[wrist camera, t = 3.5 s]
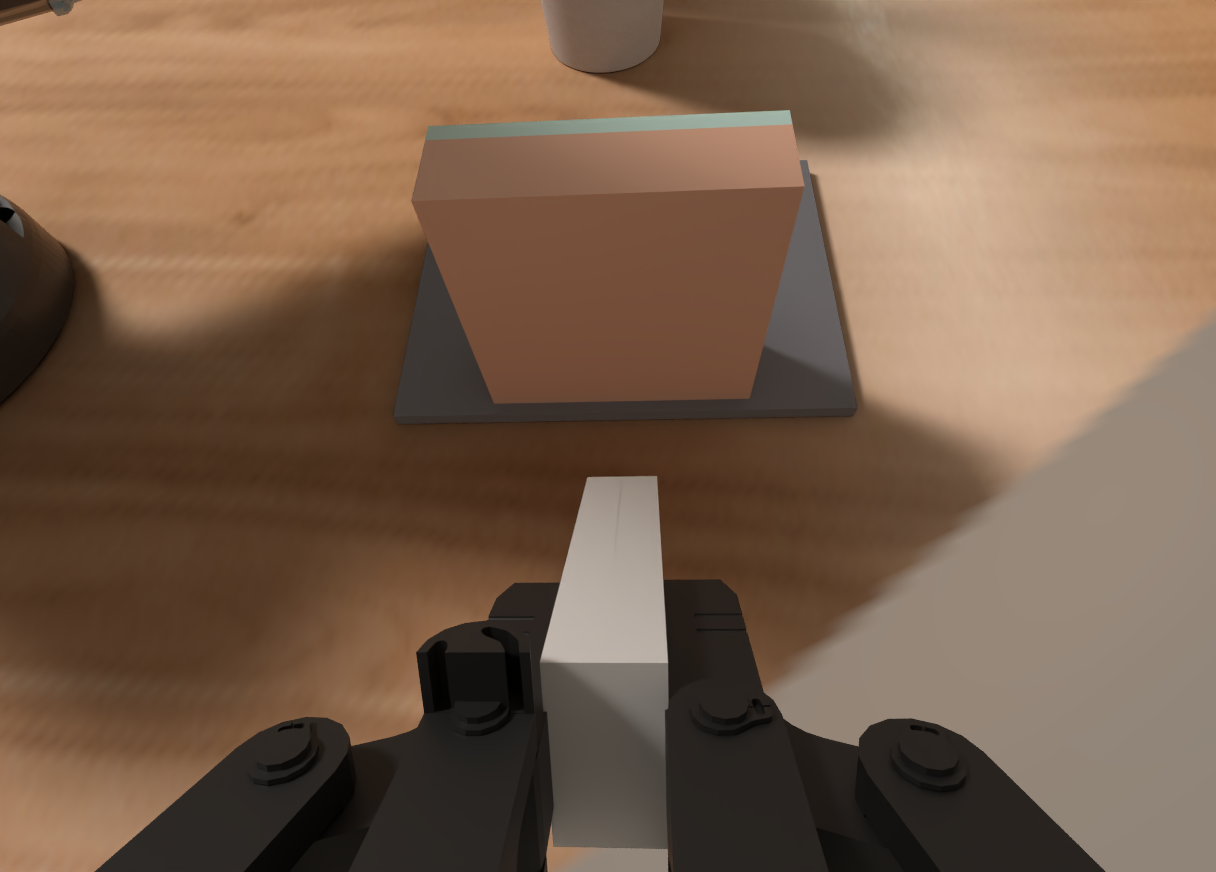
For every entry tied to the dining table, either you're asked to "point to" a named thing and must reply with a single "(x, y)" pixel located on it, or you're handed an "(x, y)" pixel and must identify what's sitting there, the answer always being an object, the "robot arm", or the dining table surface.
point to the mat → (783, 387)
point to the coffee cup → (603, 32)
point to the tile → (613, 250)
